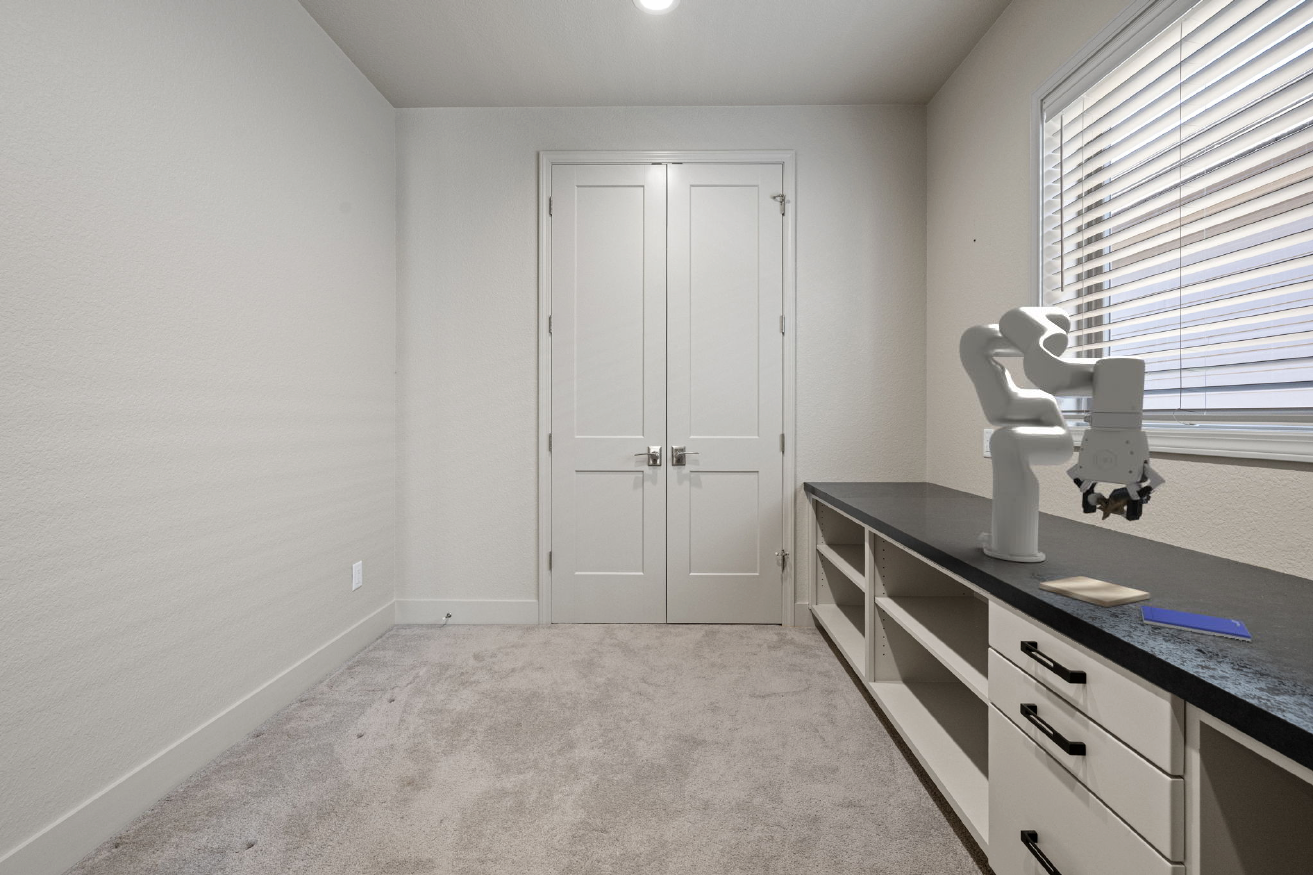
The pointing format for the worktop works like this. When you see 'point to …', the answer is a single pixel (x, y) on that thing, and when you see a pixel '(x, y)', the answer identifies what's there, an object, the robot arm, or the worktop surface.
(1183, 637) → the worktop surface
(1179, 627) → the hard drive
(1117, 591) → the ash board
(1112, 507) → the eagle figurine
